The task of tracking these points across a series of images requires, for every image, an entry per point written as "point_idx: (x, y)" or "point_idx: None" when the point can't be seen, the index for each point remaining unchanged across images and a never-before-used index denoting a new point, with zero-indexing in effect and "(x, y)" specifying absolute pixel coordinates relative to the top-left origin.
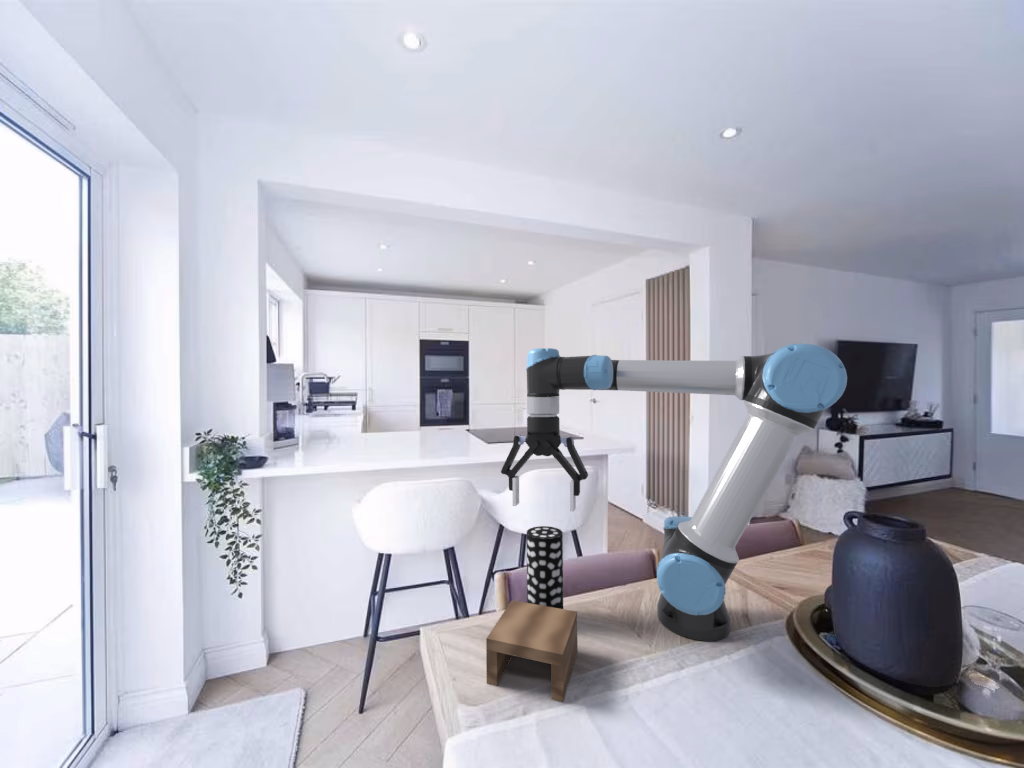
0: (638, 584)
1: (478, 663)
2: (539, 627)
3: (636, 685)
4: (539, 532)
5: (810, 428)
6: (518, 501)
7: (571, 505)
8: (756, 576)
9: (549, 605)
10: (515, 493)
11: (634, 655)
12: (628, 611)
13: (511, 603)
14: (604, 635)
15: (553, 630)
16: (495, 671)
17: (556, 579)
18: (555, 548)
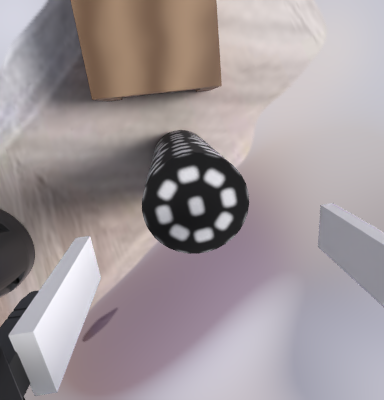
0: None
1: (231, 5)
2: (133, 10)
3: (4, 61)
4: (209, 198)
5: None
6: (323, 242)
7: (76, 248)
8: None
9: (165, 139)
10: (356, 227)
11: (30, 129)
12: (75, 233)
13: (217, 73)
14: (86, 158)
15: (105, 11)
16: None
17: (153, 158)
18: (151, 170)
